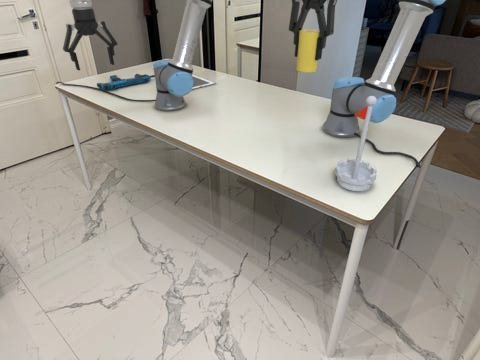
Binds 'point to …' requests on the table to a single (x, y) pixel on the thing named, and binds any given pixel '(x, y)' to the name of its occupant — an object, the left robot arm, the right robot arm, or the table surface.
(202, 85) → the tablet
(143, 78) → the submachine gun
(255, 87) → the table surface
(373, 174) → the flag stand
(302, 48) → the canister
